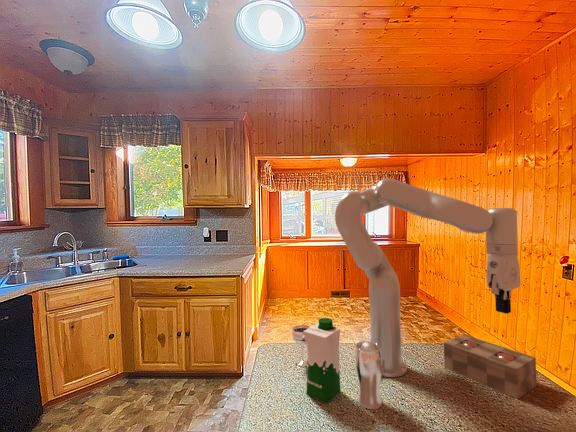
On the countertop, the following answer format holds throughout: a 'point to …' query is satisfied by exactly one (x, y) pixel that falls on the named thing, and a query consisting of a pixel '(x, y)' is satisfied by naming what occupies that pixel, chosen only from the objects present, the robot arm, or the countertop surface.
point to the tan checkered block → (491, 365)
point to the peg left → (470, 344)
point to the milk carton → (323, 360)
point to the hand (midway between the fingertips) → (503, 311)
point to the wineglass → (300, 339)
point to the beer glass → (369, 373)
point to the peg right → (505, 356)
